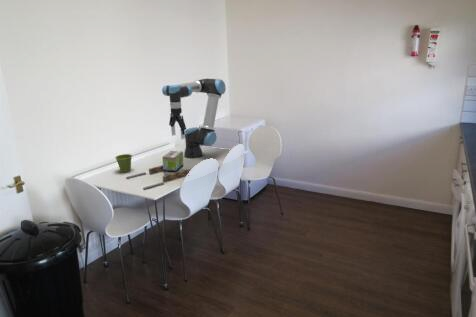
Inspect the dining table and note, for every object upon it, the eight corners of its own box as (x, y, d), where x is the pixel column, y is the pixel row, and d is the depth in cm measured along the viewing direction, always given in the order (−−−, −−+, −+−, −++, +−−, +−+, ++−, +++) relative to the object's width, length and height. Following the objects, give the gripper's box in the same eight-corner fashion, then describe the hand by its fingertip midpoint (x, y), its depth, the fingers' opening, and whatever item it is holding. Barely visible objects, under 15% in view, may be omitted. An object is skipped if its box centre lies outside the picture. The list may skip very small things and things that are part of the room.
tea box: (177, 177, 245) (175, 157, 240) (163, 176, 247) (161, 156, 242) (184, 170, 259) (183, 150, 254) (171, 169, 261) (169, 150, 256)
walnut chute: (174, 167, 265) (174, 162, 264) (190, 174, 249) (190, 169, 248) (149, 173, 252) (148, 168, 251) (164, 182, 236) (164, 176, 235)
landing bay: (144, 173, 253) (144, 172, 253) (164, 184, 233) (163, 183, 233) (126, 178, 245) (126, 177, 244) (144, 190, 224) (144, 188, 224)
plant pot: (124, 167, 267) (122, 153, 263) (137, 169, 262) (135, 155, 259) (113, 172, 256) (111, 158, 253) (126, 174, 252) (124, 159, 248)
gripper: (162, 106, 252) (165, 134, 259) (180, 110, 234) (182, 141, 241) (172, 104, 257) (174, 132, 263) (189, 109, 238) (191, 139, 245)
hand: (178, 137), depth 252 cm, fingers open, 13 cm apart
